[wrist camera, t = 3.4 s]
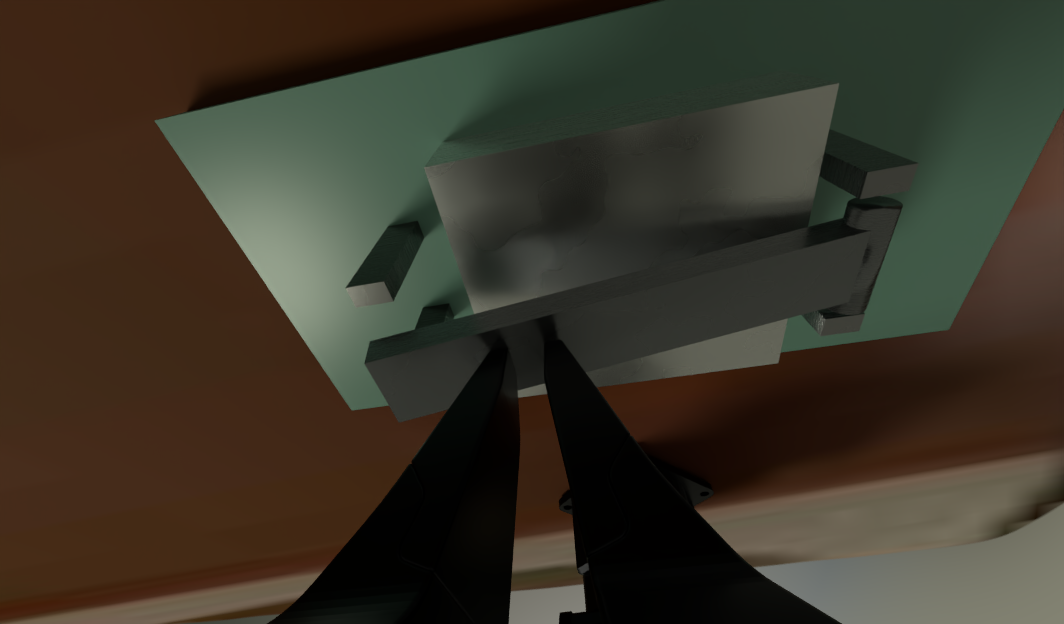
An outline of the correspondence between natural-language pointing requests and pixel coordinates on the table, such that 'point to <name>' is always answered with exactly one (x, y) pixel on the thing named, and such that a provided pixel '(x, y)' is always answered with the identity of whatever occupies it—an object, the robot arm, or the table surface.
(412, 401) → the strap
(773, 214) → the heat sink
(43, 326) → the table surface
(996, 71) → the circuit board
